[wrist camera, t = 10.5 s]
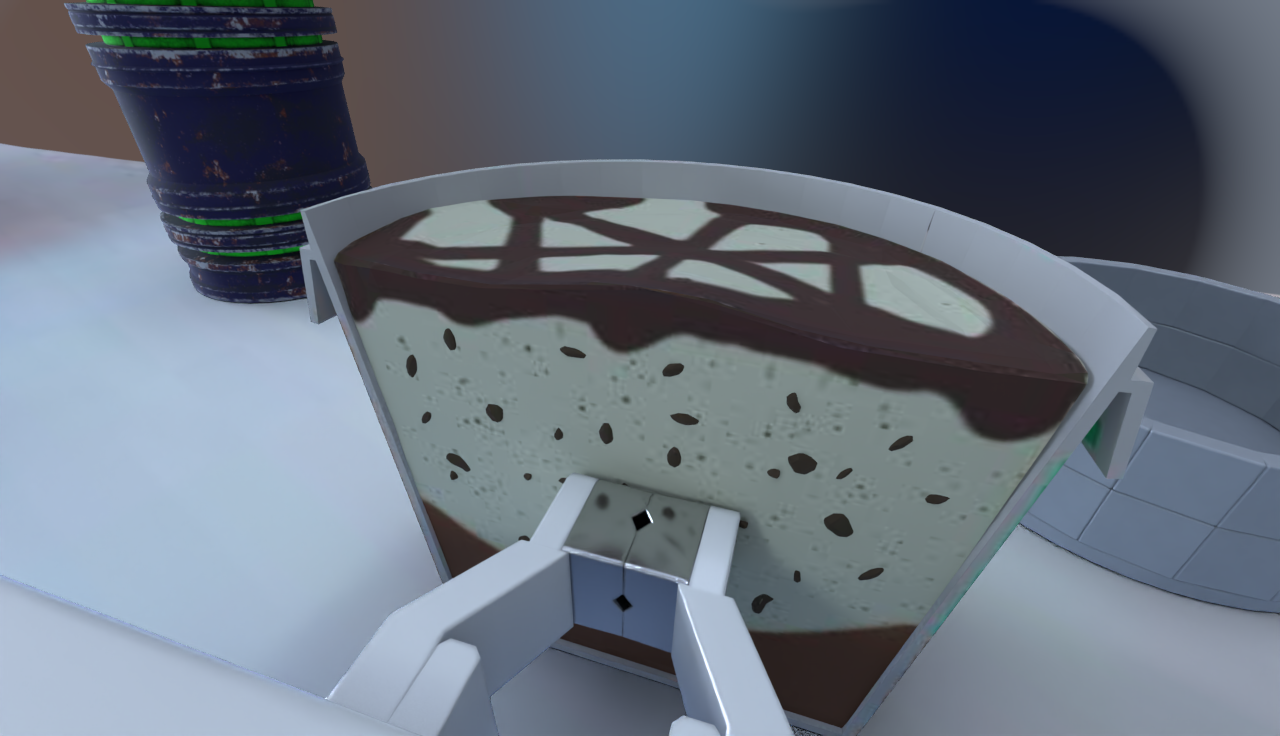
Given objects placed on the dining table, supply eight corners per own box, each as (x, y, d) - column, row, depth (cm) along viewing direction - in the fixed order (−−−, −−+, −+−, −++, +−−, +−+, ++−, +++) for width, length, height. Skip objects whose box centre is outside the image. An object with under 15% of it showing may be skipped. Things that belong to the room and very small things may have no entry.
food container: (902, 537, 16) (1046, 187, 11) (928, 769, 11) (1219, 336, 6) (518, 447, 19) (479, 135, 14) (403, 599, 14) (272, 206, 9)
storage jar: (353, 303, 28) (244, -80, 20) (145, 305, 27) (-57, -90, 19) (410, 234, 36) (349, -55, 28) (251, 234, 36) (142, -61, 27)
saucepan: (1234, 381, 24) (1305, 283, 21) (1547, 683, 13) (1763, 556, 11) (901, 329, 27) (929, 239, 24) (935, 539, 16) (992, 416, 14)
